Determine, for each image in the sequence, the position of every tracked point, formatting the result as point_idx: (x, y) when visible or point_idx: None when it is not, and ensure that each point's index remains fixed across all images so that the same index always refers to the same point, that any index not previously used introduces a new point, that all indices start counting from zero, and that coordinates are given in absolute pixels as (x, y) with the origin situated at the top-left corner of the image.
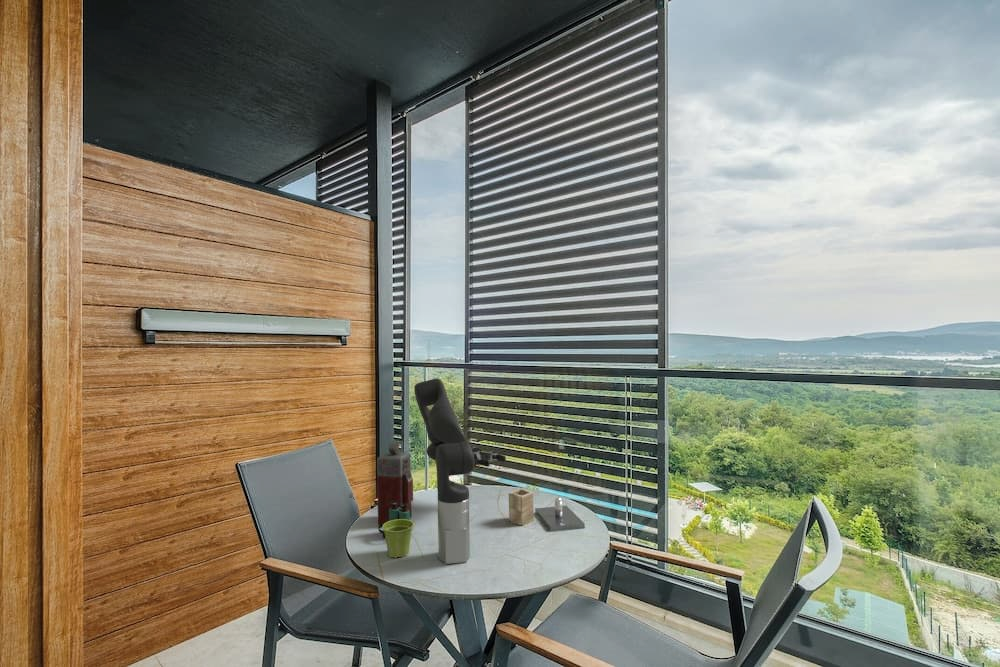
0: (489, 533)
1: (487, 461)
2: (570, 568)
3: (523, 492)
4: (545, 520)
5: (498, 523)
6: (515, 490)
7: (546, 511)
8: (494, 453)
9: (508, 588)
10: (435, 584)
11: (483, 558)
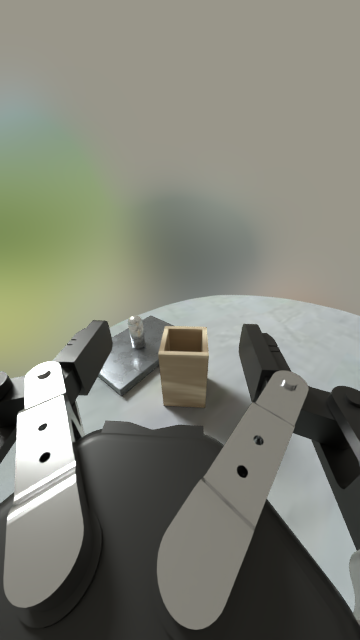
0: None
1: (257, 328)
2: (250, 298)
3: (165, 347)
4: None
5: (232, 420)
6: (179, 354)
7: (128, 365)
8: (42, 391)
9: (332, 308)
10: None
11: (339, 351)
